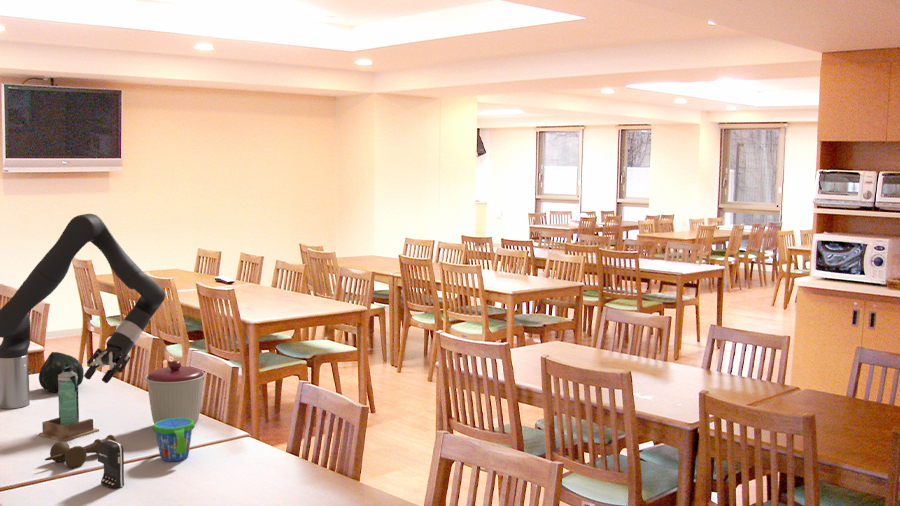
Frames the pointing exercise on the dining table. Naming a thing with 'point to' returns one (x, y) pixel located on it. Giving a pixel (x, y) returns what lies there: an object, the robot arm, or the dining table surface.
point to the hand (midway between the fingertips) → (95, 379)
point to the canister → (175, 392)
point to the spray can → (68, 397)
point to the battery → (111, 463)
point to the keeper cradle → (67, 429)
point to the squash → (58, 370)
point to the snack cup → (174, 438)
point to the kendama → (74, 452)
